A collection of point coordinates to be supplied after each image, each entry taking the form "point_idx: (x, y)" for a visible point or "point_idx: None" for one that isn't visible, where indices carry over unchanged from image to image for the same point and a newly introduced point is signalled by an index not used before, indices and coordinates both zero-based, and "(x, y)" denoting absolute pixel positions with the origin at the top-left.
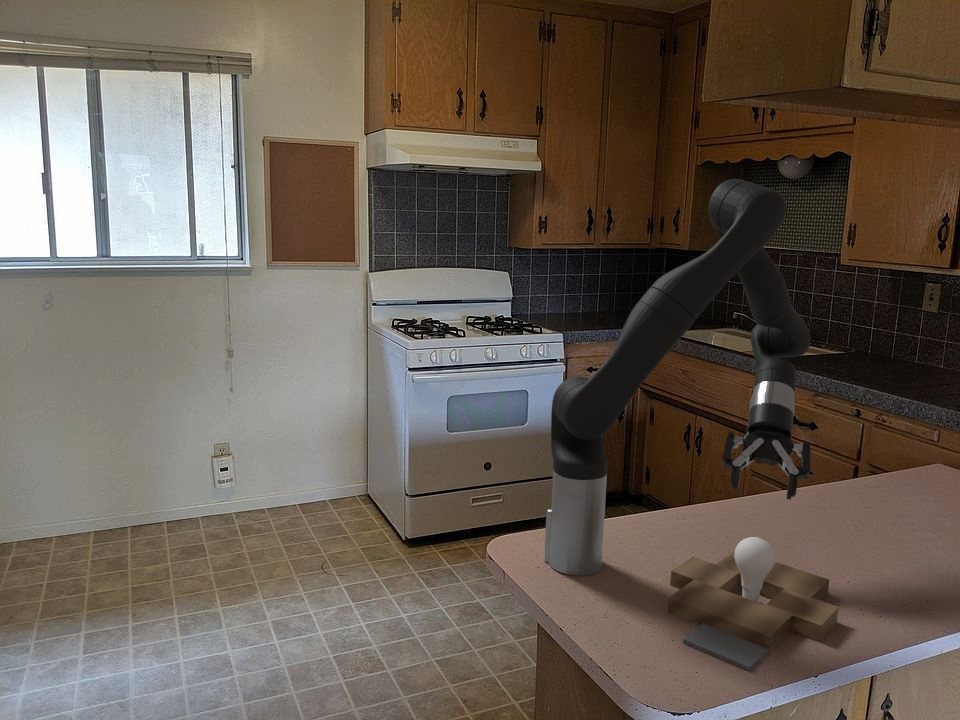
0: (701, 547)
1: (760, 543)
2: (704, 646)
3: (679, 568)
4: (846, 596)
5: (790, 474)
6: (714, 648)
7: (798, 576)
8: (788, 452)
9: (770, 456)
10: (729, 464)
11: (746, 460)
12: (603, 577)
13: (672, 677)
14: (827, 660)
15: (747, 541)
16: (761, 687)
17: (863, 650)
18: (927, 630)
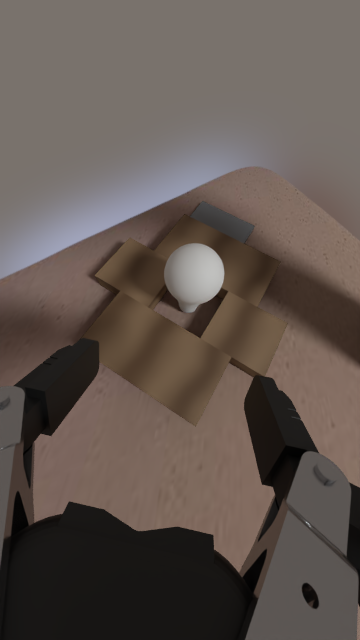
0: (245, 477)
1: (191, 246)
2: (236, 219)
3: (278, 332)
4: (61, 347)
5: (33, 406)
6: (228, 218)
7: (117, 345)
8: None
9: (96, 547)
10: (350, 485)
11: (273, 523)
12: (354, 331)
13: (257, 191)
14: (135, 225)
15: (212, 254)
16: (195, 190)
17: (95, 243)
18: (4, 287)
